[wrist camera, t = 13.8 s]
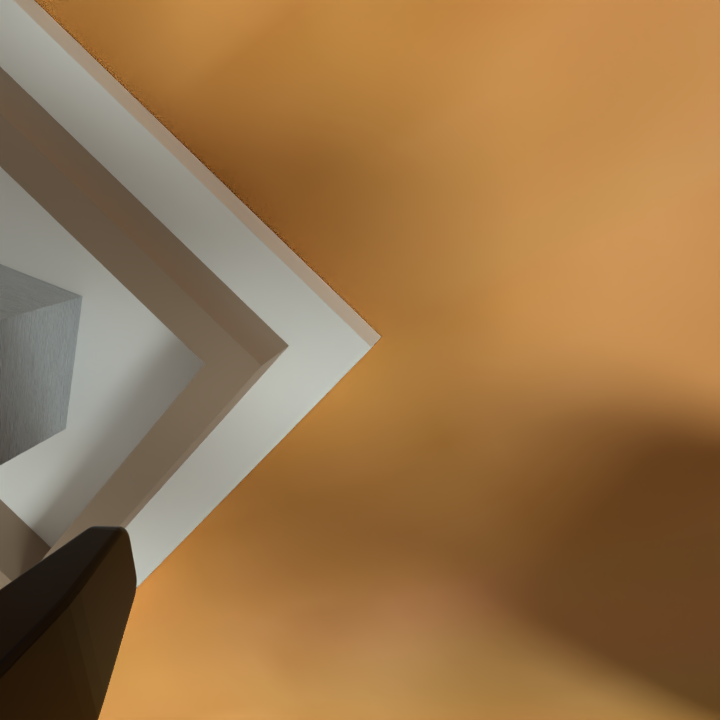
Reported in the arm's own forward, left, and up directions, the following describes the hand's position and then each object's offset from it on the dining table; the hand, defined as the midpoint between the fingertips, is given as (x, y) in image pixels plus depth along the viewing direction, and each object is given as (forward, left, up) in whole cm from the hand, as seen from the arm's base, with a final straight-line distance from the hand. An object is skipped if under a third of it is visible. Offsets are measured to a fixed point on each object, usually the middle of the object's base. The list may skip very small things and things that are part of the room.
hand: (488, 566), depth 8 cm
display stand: (+12, +12, -11) cm, 20 cm away
